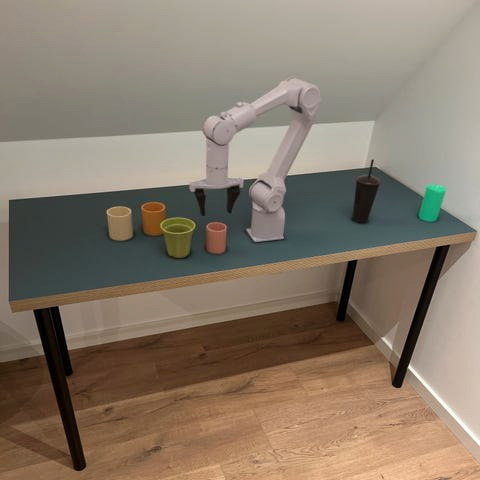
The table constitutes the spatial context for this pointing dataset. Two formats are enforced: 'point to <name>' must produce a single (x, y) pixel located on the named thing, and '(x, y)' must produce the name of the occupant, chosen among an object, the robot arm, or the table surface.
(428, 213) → the candle
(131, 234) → the cream cup
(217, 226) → the rose cup
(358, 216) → the drinking cup
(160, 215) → the ochre cup
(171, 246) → the plant pot
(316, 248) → the table surface
